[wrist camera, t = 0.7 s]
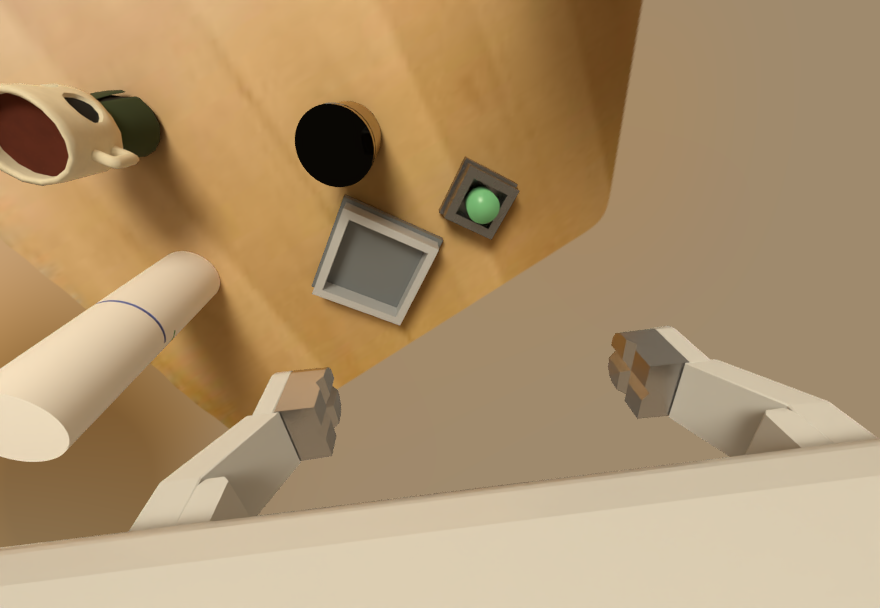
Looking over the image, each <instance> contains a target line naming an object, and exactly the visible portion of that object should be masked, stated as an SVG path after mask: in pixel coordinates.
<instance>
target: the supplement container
mask: <svg viewBox="0 0 880 608" xmlns="http://www.w3.org/2000/svg"><path fill="white" fill-rule="evenodd" d="M380 145H381V130H380V127H379V124H378V122H377V120H376V118H375V116H374V115H373V114H372V113H371V112H370V111H369V110H368V109H367V108H366V107H364V106H363V105H361V104H359V103H356V102H352V101H341V102H336V103H325V104H322V105H318V106H316V107H313V108H312V109H310V110H309V111H307V112H306V113H305V114H304V115H303V117H302V118H301V120H300V121H299V123H298V126H297V129H296V133H295V147H296V151H297V155H298V157H299V160H300V162H301V163H302V165H303V167H304V168H305V169H306V171H307V172H308V173H309V174H310V175H311V176H312V177H314V178H315V179H316V180H318V181H320V182H321V183H324V184H326V185H329V186H334V187H345V186H350V185H353V184H355V183H357V182H358V181H360V180H361V179H362V178H363V177H364V176H365V175H366V174H367V173H368V171H369V170H370V168H371V166H372V164H373V162H374V159H375V157H376V155H377V153H378V151H379V149H380Z"/></svg>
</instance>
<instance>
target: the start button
mask: <svg viewBox="0 0 880 608" xmlns="http://www.w3.org/2000/svg"><path fill="white" fill-rule="evenodd" d="M465 208H466V210H467V212H468V215H469V217H470V218H471V219H472V220H473V221H474V222H476V223H479V224H486V223H489V222H491V221H492V220H494V219H495V218H496V216H497V215H498V213H499V209H500V204H499V201H498V199H497V197H496V196H495V195H494V193H493V192H492V191H491V190H490V189H488V188H486V187H476V188H473V189H472V190H471V191H470V192H469V193H468V194H467V196H466V198H465Z"/></svg>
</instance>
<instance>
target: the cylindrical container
mask: <svg viewBox="0 0 880 608" xmlns="http://www.w3.org/2000/svg"><path fill="white" fill-rule="evenodd" d="M219 287H220V278H219V275H218V272H217V270H216V269H215V268H214V266H213V265H212V264H211V263H210V262H209V261H208V260H206V259H205V258H204V257H202V256H200V255H198V254H195V253H192V252H188V251H176V252H173V253H170V254H168V255H167V256H165V257H164V258H162V259H161V260H159V261H158V262H156V263H155V264H154V265H152V266H151V267H149V268H148V269H146V270H145V271H143V272H142V273H140V274H139V275H137V276H136V277H134V278H133V279H131V280H130V281H128V282H127V283H126V284H124V285H123V286H121V287H120V288H118V289H117V290H115V291H114V292H112V293H111V294H109V295H108V296H106V297H105V298H104V299H102V300H101V301H99V302H98V303H96V304H95V305H93V306H92V307H90V308H89V309H87V310H86V311H84V312H83V313H82V314H80V315H79V316H77V317H76V318H74V319H73V320H71V321H70V322H68V323H67V324H65V325H64V326H62V327H61V328H59V329H58V330H56V331H55V332H54V333H52V334H51V335H49V336H48V337H46V338H45V339H43V340H42V341H40V342H39V343H37V344H36V345H34V346H33V347H31V348H30V349H28V350H27V351H26V352H24V353H23V354H21V355H20V356H18V357H17V358H15V359H14V360H13V361H11V362H9V363H8V364H7V365H5V366H4V367H2V368H1V369H0V456H1V457H5V458H8V459H13V460H19V461H28V462H40V461H47V460H51V459H55V458H57V457H59V456H61V455H62V454H63V453H64V452H65V451H66V450H67V449H68V448H69V447H70V446H71V445H72V444H73V443H74V442H75V441H76V440H77V439H78V438H79V437H80V436H81V435H82V433H84V431H86V429H87V428H88V427H89V426H90V425H91V424H92V423H93V422H94V421H95V420H96V419H97V418H98V417H99V416H100V415H101V414H102V413H103V412H104V411H105V410H106V409H107V407H108V406H109V405H110V404H111V403H112V402H113V401H114V400H115V399H116V398H117V397H118V396H119V395H120V394H121V393H122V392H123V391H124V390H125V389H126V388H127V386H129V384H130V383H131V382H132V381H133V380H134V379H135V378H136V377H137V376H138V375H139V374H140V373H141V372H142V371H143V370H144V369H145V368H146V367H147V366H148V364H150V363H151V361H152V360H153V359H154V358H155V357H156V356H157V355H158V354H159V353H160V352H161V351H162V350H163V349H164V348H165V347H166V346H167V345H168V344H169V343H170V341H171V340H172V339H173V338H174V337H175V336H176V335H177V334H178V333H179V332H180V331H181V330H182V329H183V328H184V327H185V326H186V325H187V324H188V323H189V322H190V320H191V319H192V318H193V317H194V316H195V315H196V314H197V313H198V312H199V311H200V310H201V309H202V308H203V307H204V306H205V305H206V304H207V303H208V302H209V301H210V299H211V298H212V297H213V296H214V295H215V294H216V293H217V292H218V290H219Z"/></svg>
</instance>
